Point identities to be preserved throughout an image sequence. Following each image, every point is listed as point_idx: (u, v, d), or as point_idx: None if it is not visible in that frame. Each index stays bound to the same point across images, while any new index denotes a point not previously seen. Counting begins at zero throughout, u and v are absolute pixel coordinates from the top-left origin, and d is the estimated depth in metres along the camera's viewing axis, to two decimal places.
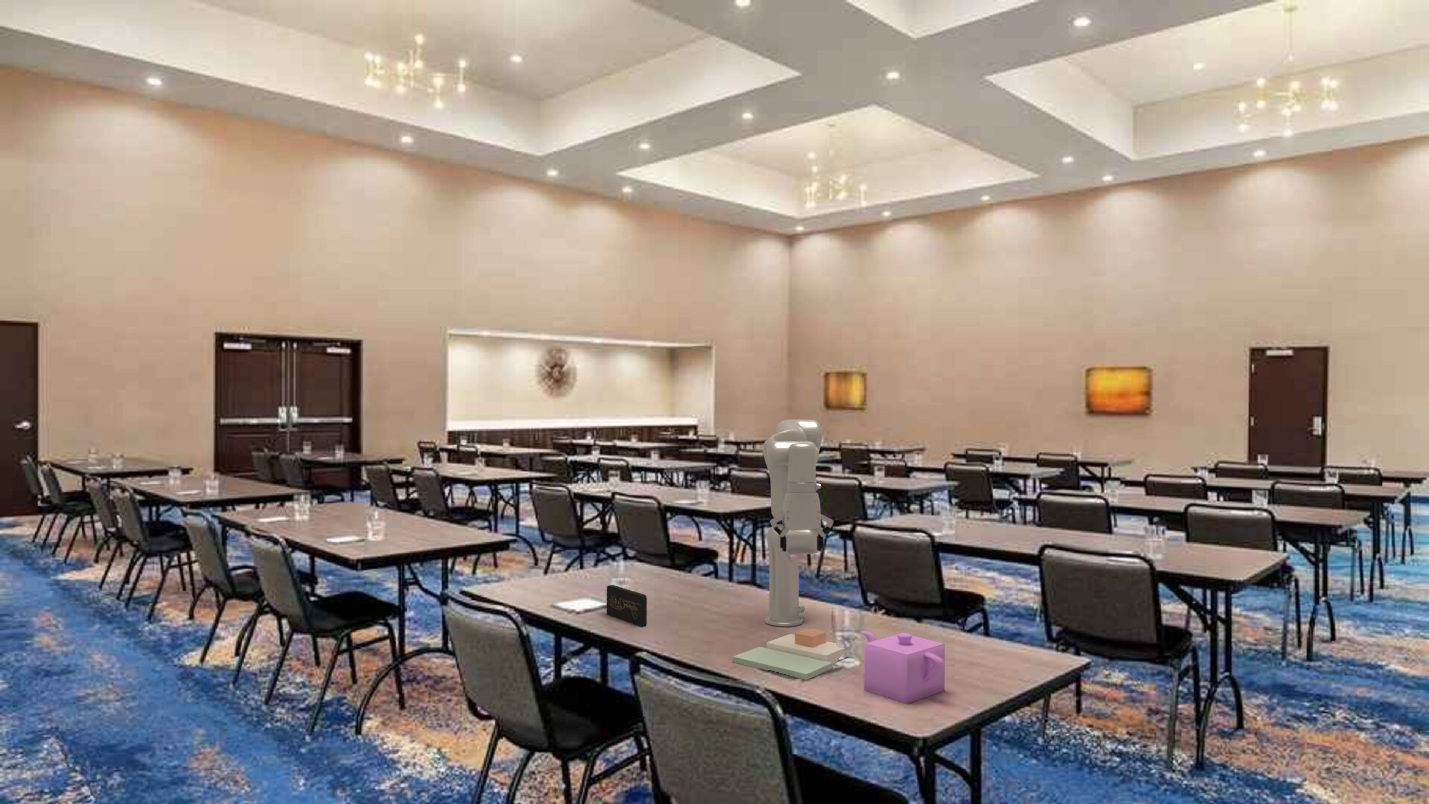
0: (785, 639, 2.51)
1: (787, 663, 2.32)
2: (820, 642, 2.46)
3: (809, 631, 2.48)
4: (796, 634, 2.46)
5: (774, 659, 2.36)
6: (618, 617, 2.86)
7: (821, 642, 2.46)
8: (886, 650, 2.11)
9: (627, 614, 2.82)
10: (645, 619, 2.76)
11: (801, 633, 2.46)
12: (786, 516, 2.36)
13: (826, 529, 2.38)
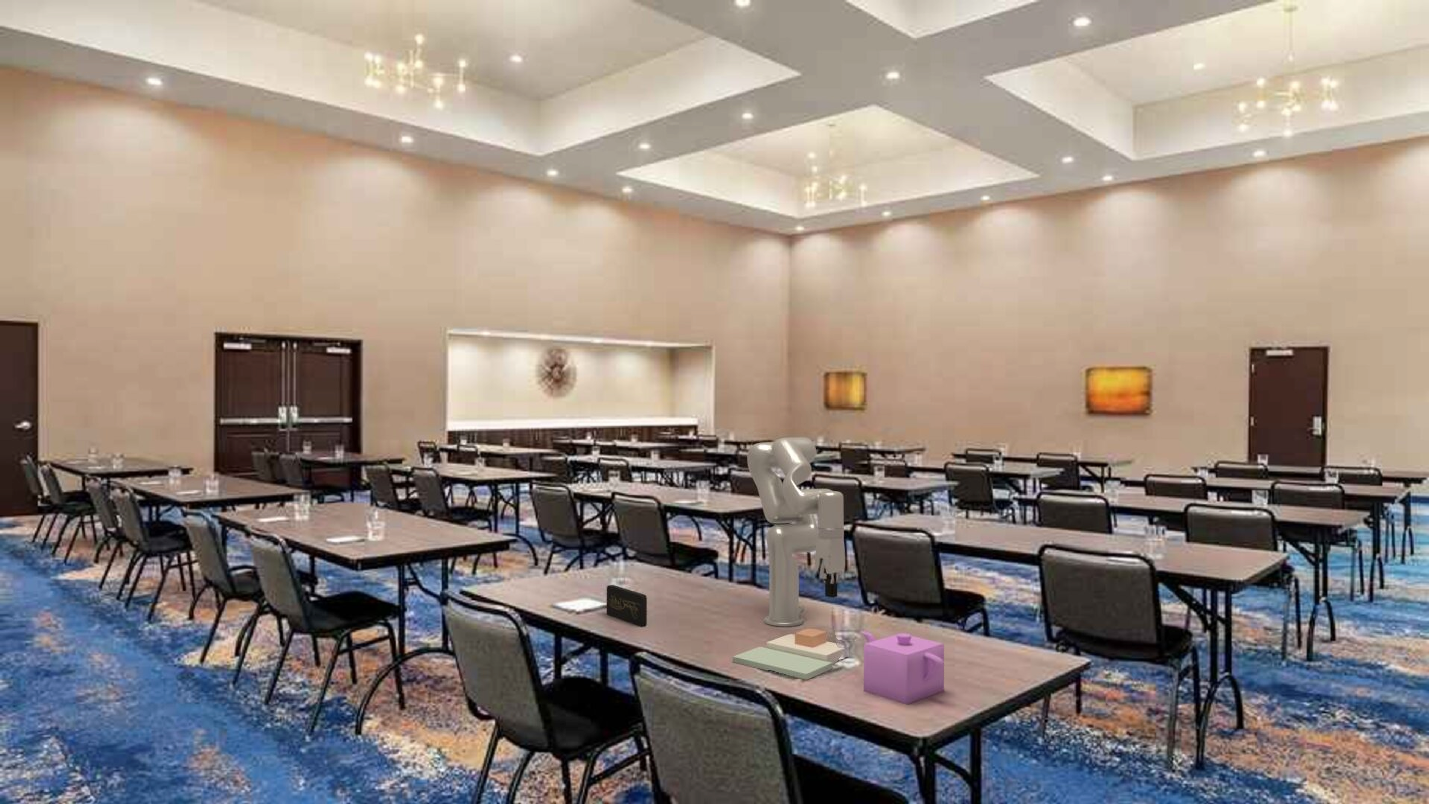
0: (785, 639, 2.51)
1: (787, 663, 2.32)
2: (820, 642, 2.46)
3: (809, 631, 2.48)
4: (796, 634, 2.46)
5: (774, 659, 2.36)
6: (618, 617, 2.86)
7: (821, 642, 2.46)
8: (886, 650, 2.10)
9: (627, 614, 2.82)
10: (645, 619, 2.76)
11: (801, 633, 2.46)
12: (828, 561, 2.50)
13: None
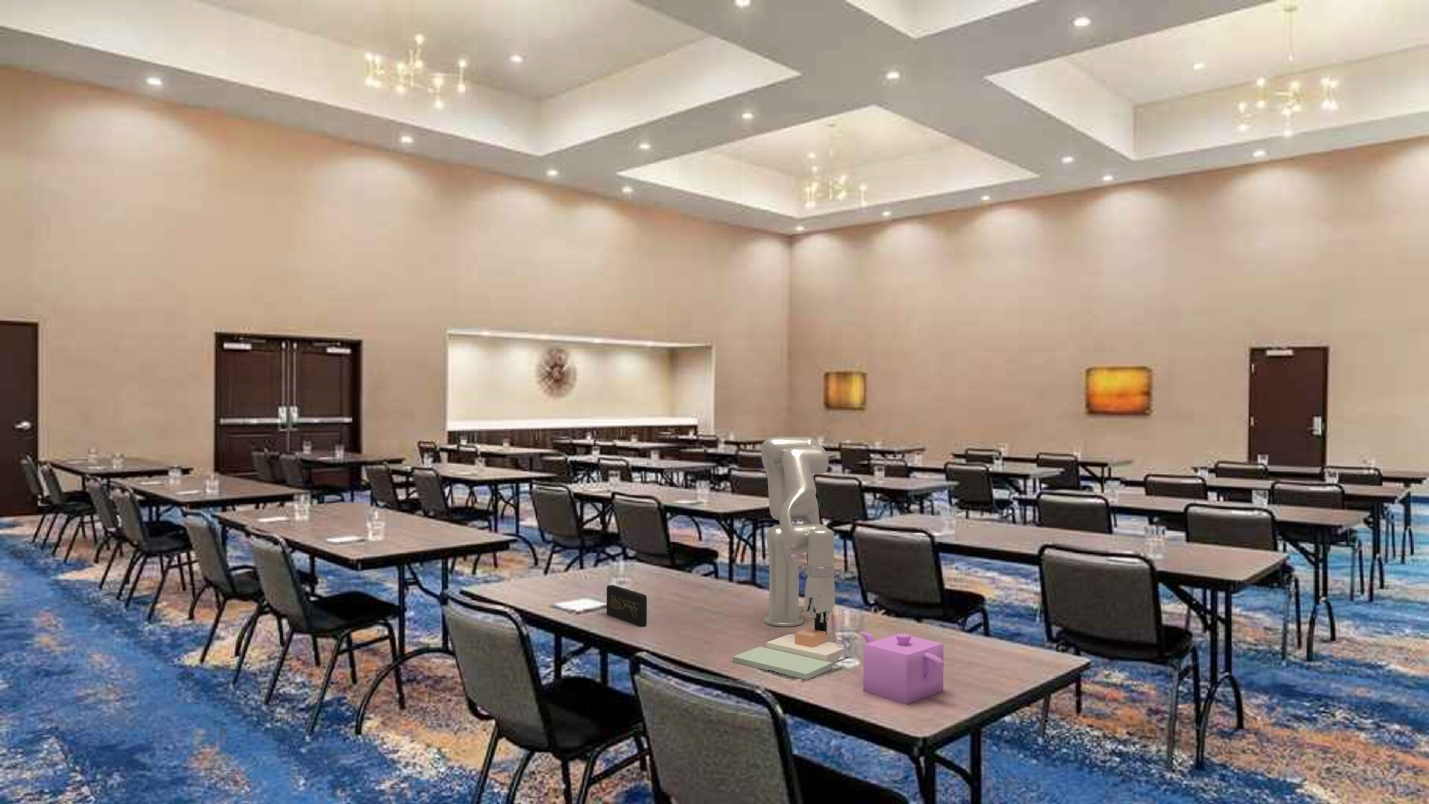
0: (785, 639, 2.51)
1: (787, 663, 2.32)
2: (820, 642, 2.46)
3: (809, 631, 2.48)
4: (796, 634, 2.46)
5: (774, 659, 2.36)
6: (618, 617, 2.86)
7: (821, 642, 2.46)
8: (885, 651, 2.10)
9: (627, 614, 2.82)
10: (645, 619, 2.76)
11: (801, 633, 2.46)
12: (818, 601, 2.46)
13: None
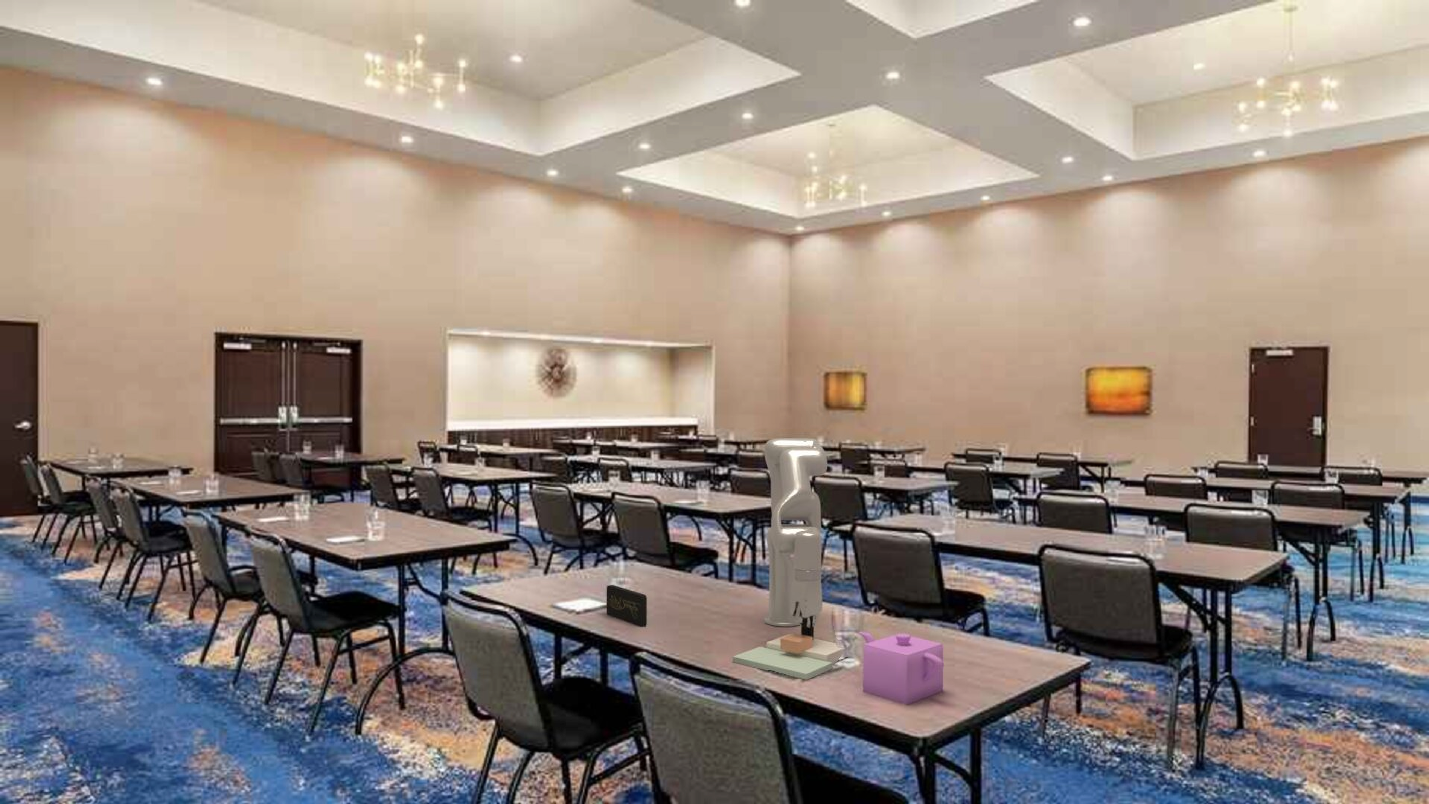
0: None
1: (787, 663, 2.32)
2: (806, 648, 2.40)
3: (795, 636, 2.43)
4: (782, 639, 2.40)
5: (774, 659, 2.36)
6: (618, 617, 2.86)
7: (807, 647, 2.41)
8: (885, 651, 2.10)
9: (627, 614, 2.82)
10: (645, 619, 2.76)
11: (787, 638, 2.40)
12: (804, 605, 2.41)
13: None
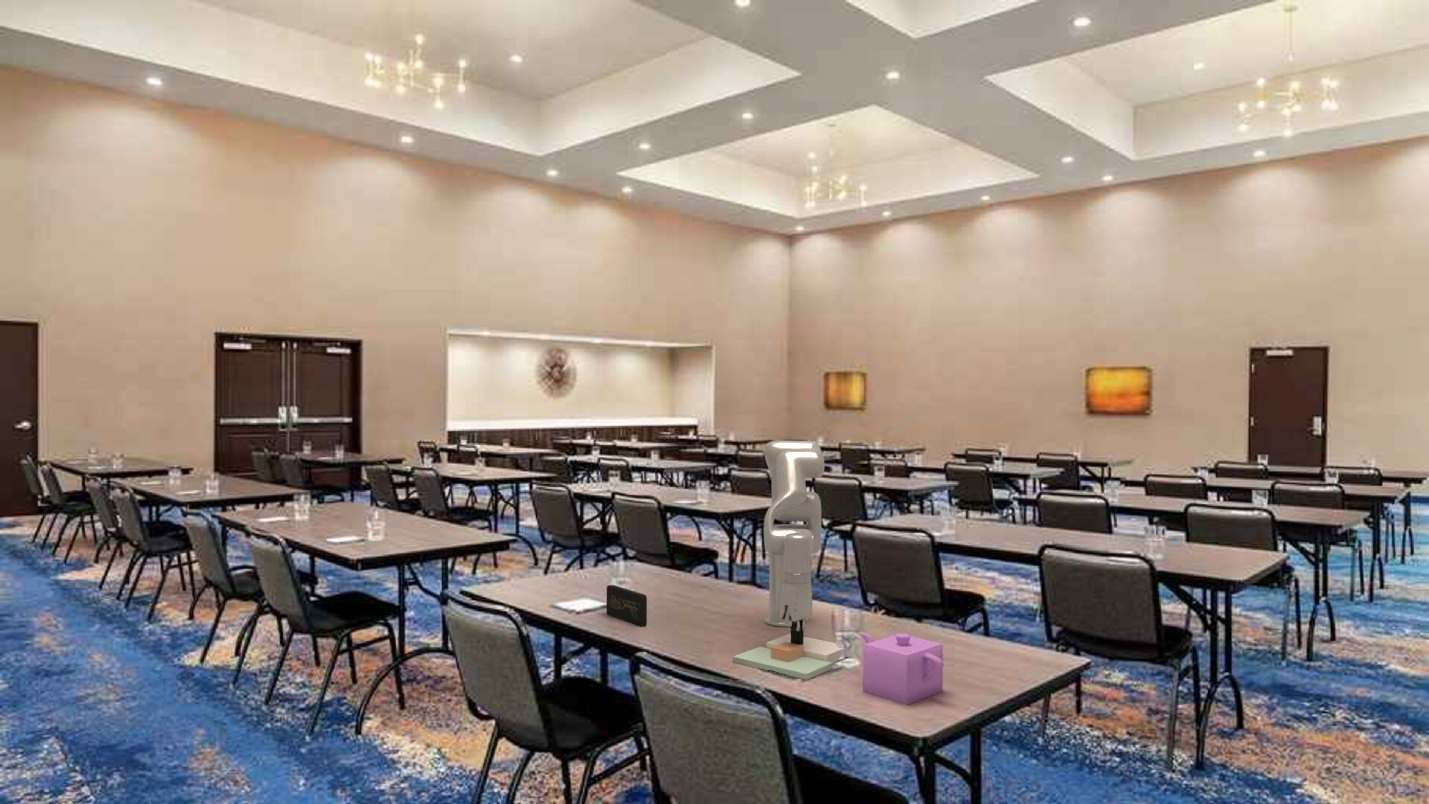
0: (785, 639, 2.51)
1: (787, 663, 2.32)
2: (797, 657, 2.37)
3: (786, 645, 2.39)
4: (772, 648, 2.37)
5: (774, 659, 2.36)
6: (618, 617, 2.86)
7: (798, 656, 2.37)
8: (885, 651, 2.10)
9: (627, 614, 2.82)
10: (645, 619, 2.76)
11: (777, 647, 2.37)
12: (794, 608, 2.37)
13: None
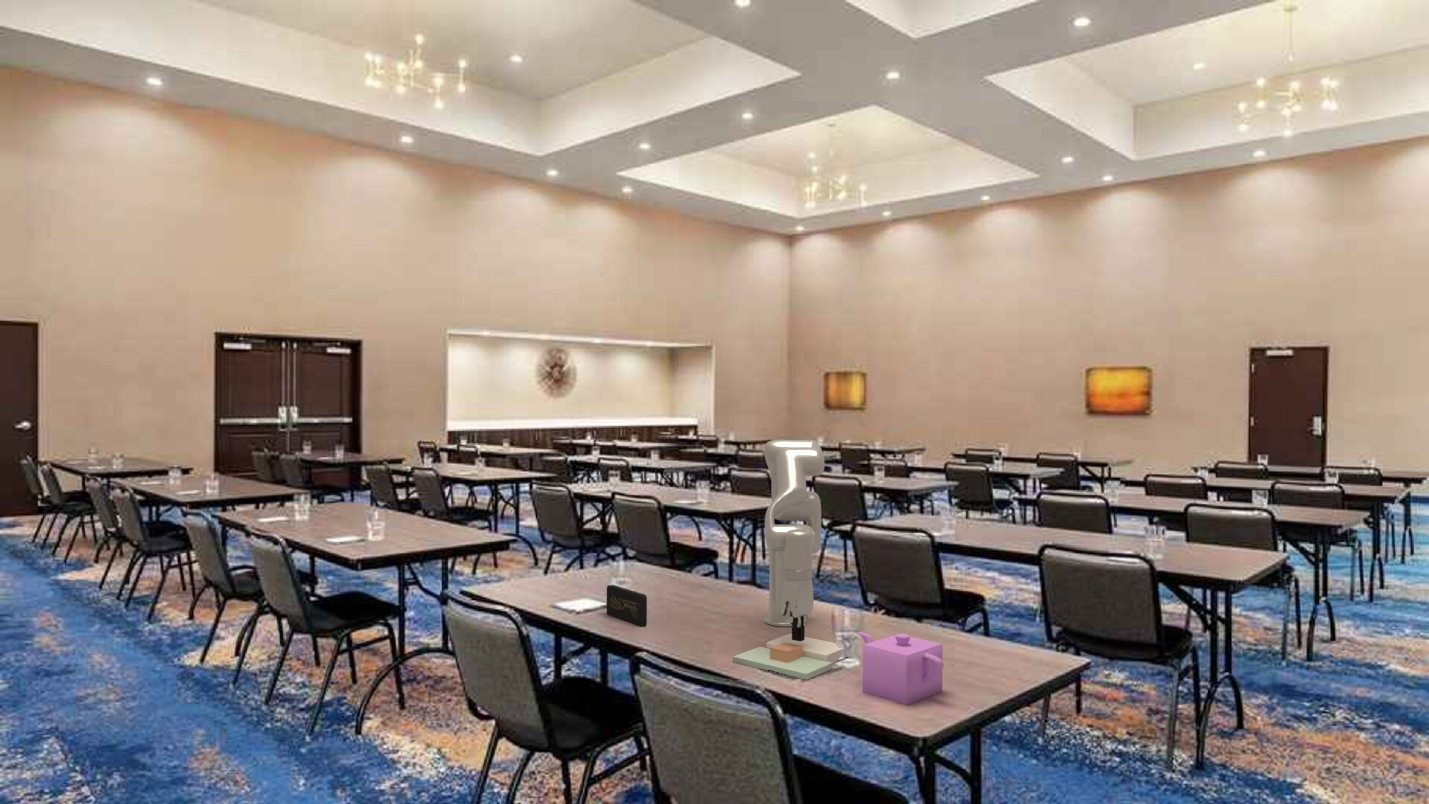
0: (785, 639, 2.51)
1: (787, 663, 2.32)
2: (796, 657, 2.36)
3: (785, 645, 2.39)
4: (771, 648, 2.37)
5: None
6: (618, 617, 2.86)
7: (797, 657, 2.37)
8: (885, 651, 2.10)
9: (627, 614, 2.82)
10: (645, 619, 2.76)
11: (776, 647, 2.37)
12: (795, 605, 2.38)
13: None
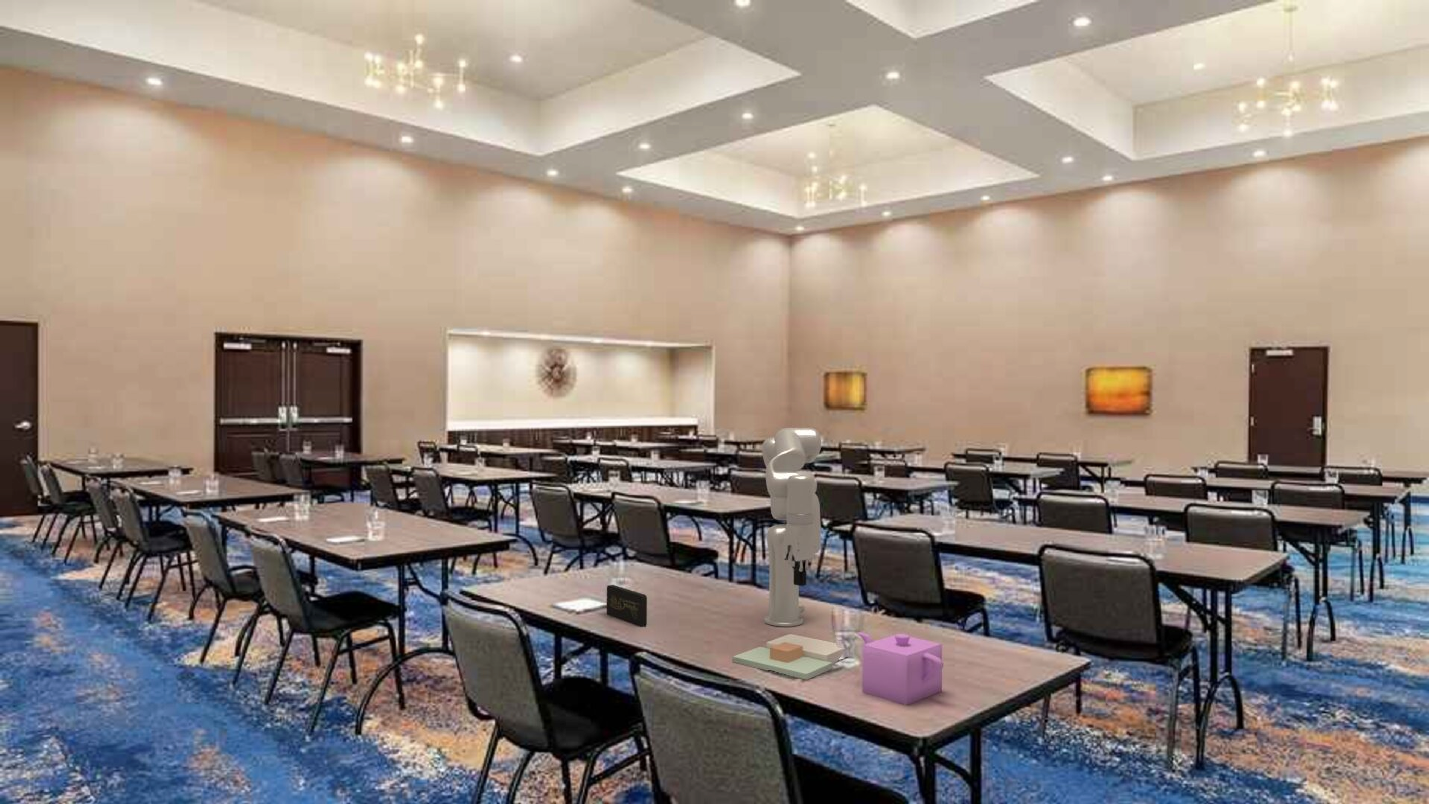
0: (785, 639, 2.51)
1: (787, 663, 2.32)
2: (796, 657, 2.36)
3: (785, 645, 2.39)
4: (771, 648, 2.37)
5: None
6: (618, 617, 2.86)
7: (797, 657, 2.37)
8: (885, 651, 2.10)
9: (627, 614, 2.82)
10: (645, 619, 2.76)
11: (776, 647, 2.37)
12: (797, 548, 2.38)
13: None
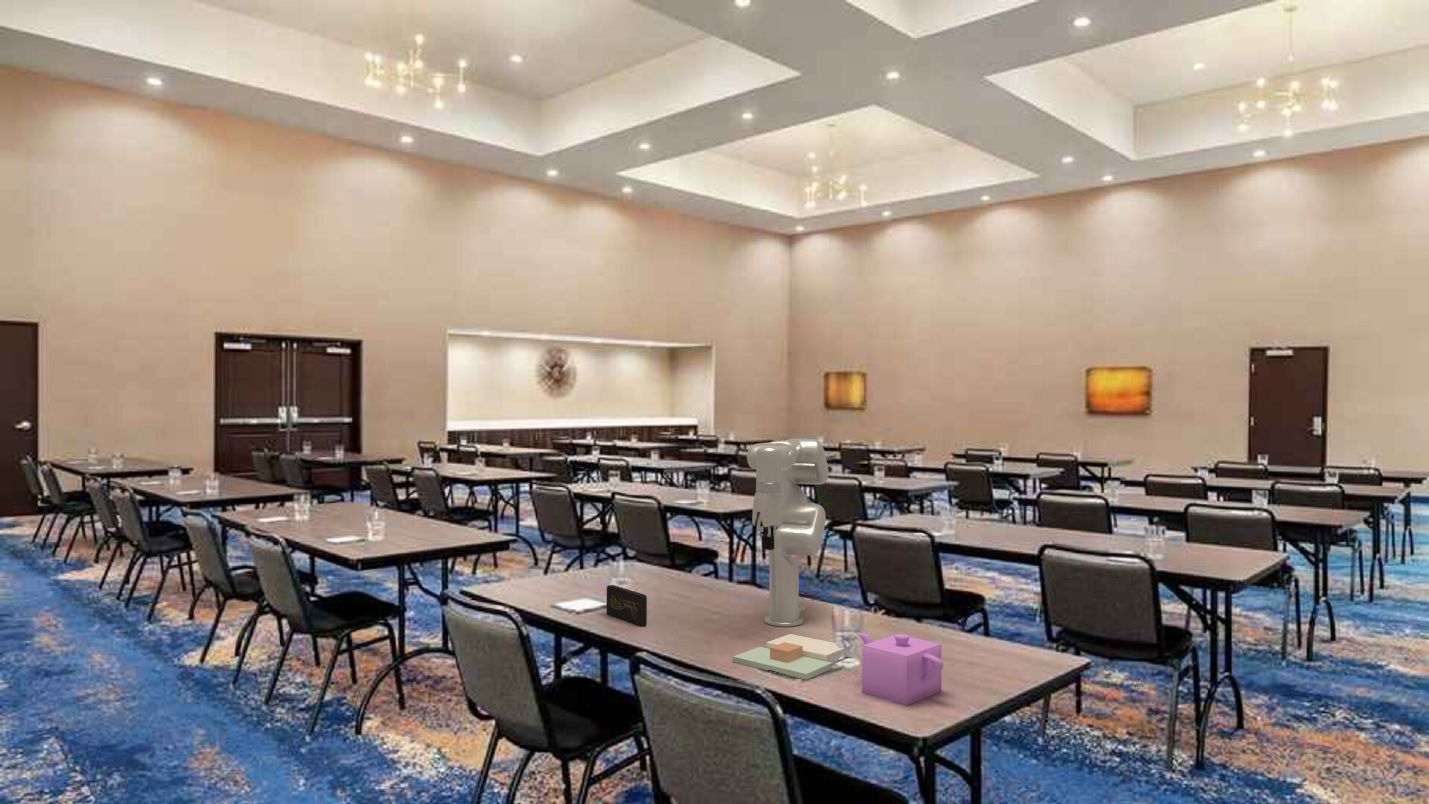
0: (785, 639, 2.51)
1: (787, 663, 2.32)
2: (796, 657, 2.36)
3: (785, 645, 2.39)
4: (771, 648, 2.37)
5: None
6: (618, 617, 2.86)
7: (797, 657, 2.37)
8: (885, 652, 2.09)
9: (627, 614, 2.82)
10: (645, 619, 2.76)
11: (776, 647, 2.37)
12: (765, 515, 2.57)
13: None
